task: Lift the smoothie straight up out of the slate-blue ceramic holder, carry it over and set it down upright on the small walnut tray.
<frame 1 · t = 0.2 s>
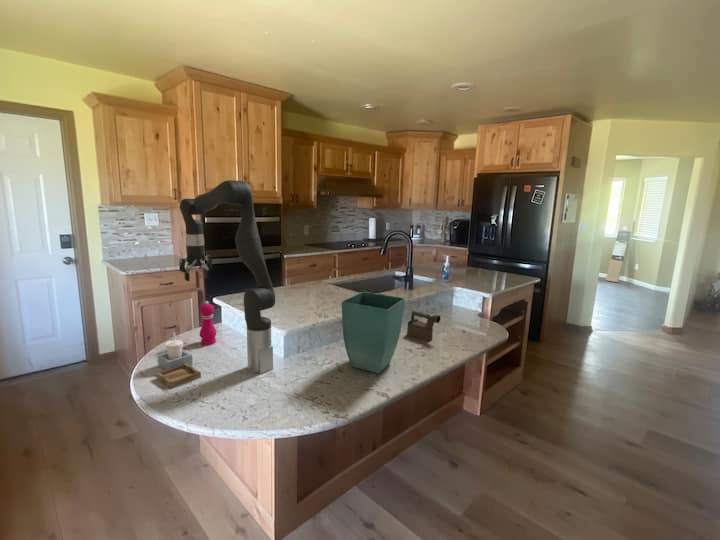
hand: (197, 279, 170), 29 cm above the countertop, fingers open, 8 cm apart
pepper mill: (208, 343, 172), on the countertop
dark brown boxy piece: (421, 337, 190), on the countertop
smoothie: (175, 366, 149), resting in holder
tray: (179, 378, 139), on the countertop
flower pot: (371, 365, 156), on the countertop
holder: (175, 365, 149), on the countertop
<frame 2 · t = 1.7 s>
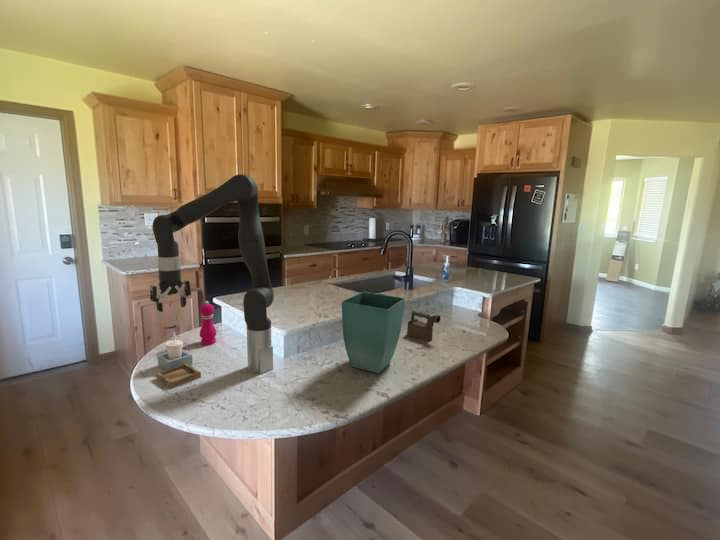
hand: (172, 309, 144), 23 cm above the countertop, fingers open, 8 cm apart
nothing on the countertop moved.
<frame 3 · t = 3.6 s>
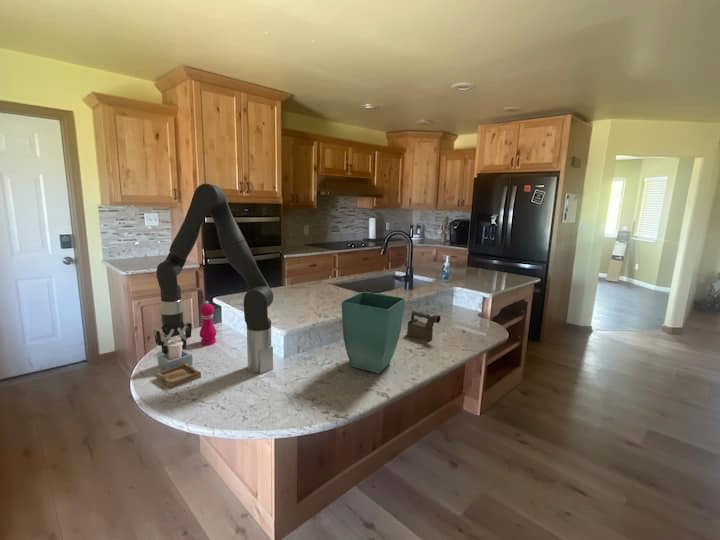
hand: (174, 351, 148), 6 cm above the countertop, fingers closed on smoothie, 6 cm apart
smoothie: (175, 366, 149), resting in holder, touching gripper
everything else where it was.
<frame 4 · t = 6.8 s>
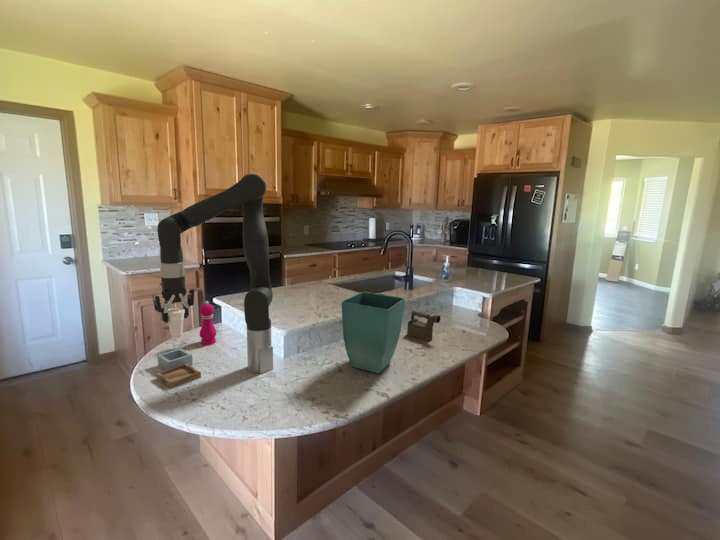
hand: (175, 319, 135), 23 cm above the countertop, fingers closed on smoothie, 6 cm apart
smoothie: (176, 336, 136), point 16 cm above the countertop, touching gripper
everything else where it was.
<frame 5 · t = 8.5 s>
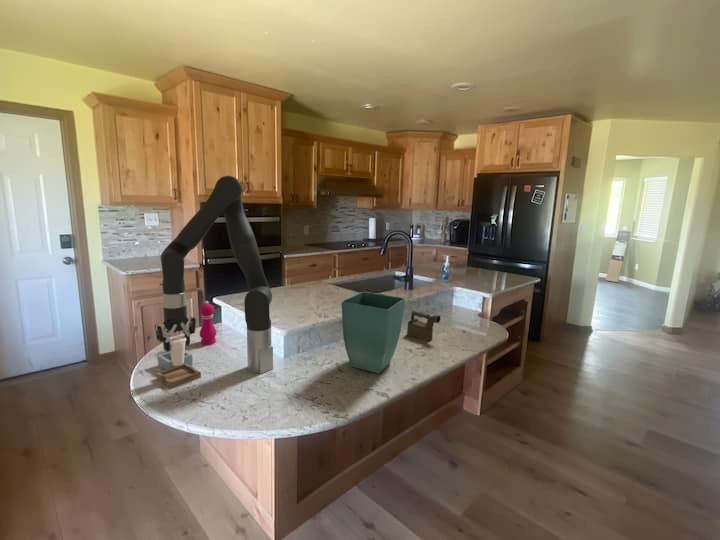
hand: (177, 348, 137), 12 cm above the countertop, fingers closed on smoothie, 6 cm apart
smoothie: (178, 364, 138), point 6 cm above the countertop, touching gripper
everything else where it was.
when the fingers open (9 cm above the countertop, at t = 9.8 s): smoothie drops 1 cm, resting on tray.
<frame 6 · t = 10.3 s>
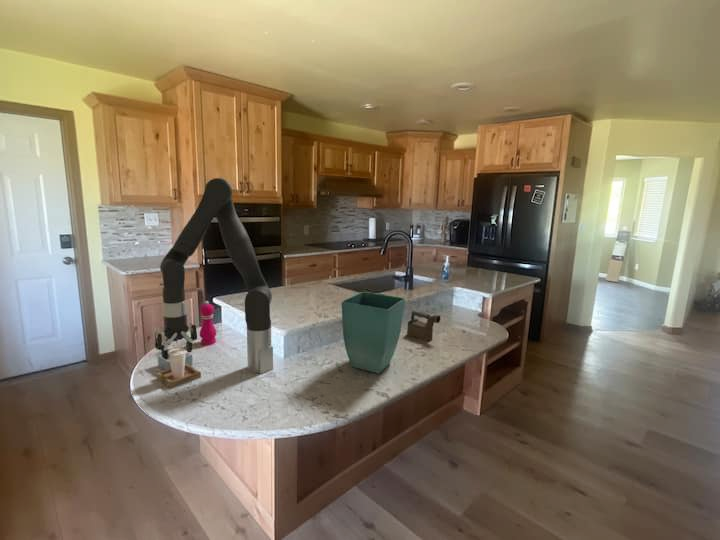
hand: (177, 355, 137), 9 cm above the countertop, fingers open, 8 cm apart
smoothie: (178, 376, 139), point 1 cm above the countertop, touching tray
everything else where it was.
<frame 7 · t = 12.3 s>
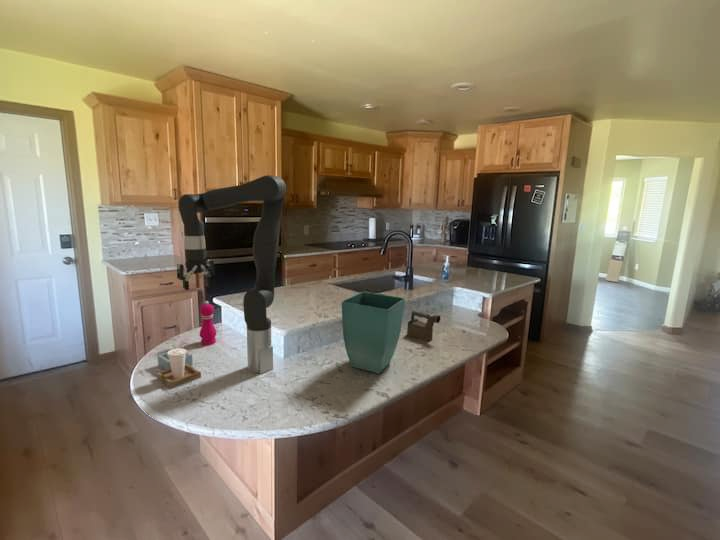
hand: (197, 288, 147), 31 cm above the countertop, fingers open, 8 cm apart
nothing on the countertop moved.
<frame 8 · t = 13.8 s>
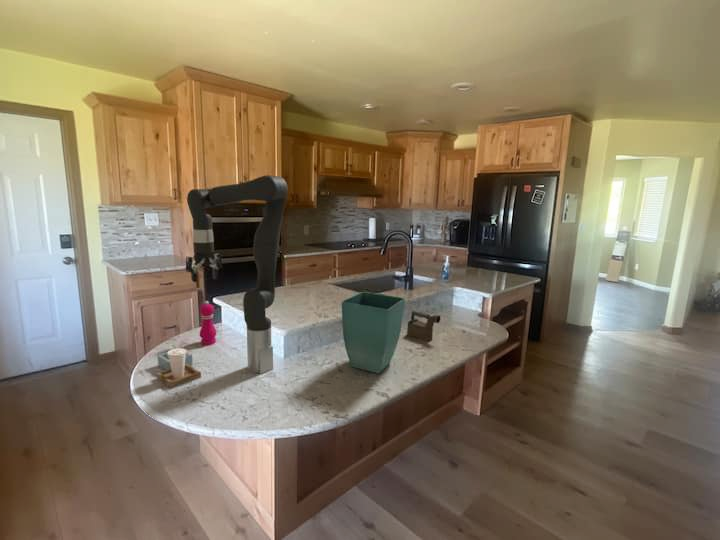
hand: (205, 280, 151), 33 cm above the countertop, fingers open, 8 cm apart
nothing on the countertop moved.
at the end: smoothie inside the target area on the tray (0.3 cm from its centre), point 0.8 cm above the tray's base; smoothie tilted 0°; the gripper is holding nothing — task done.
